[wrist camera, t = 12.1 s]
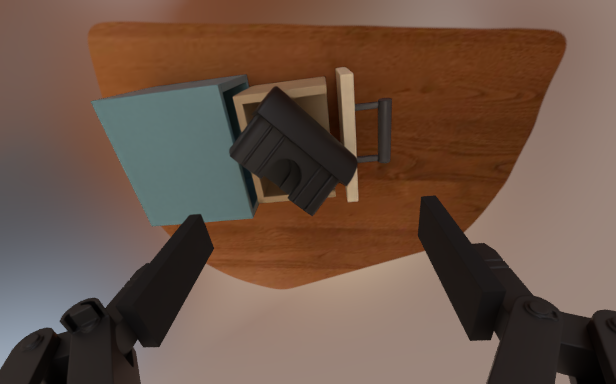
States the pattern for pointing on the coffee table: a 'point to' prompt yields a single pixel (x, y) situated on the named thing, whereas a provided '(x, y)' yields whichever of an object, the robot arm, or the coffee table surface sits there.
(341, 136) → the drawer
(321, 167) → the end cap
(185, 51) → the coffee table surface
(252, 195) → the cabinet
